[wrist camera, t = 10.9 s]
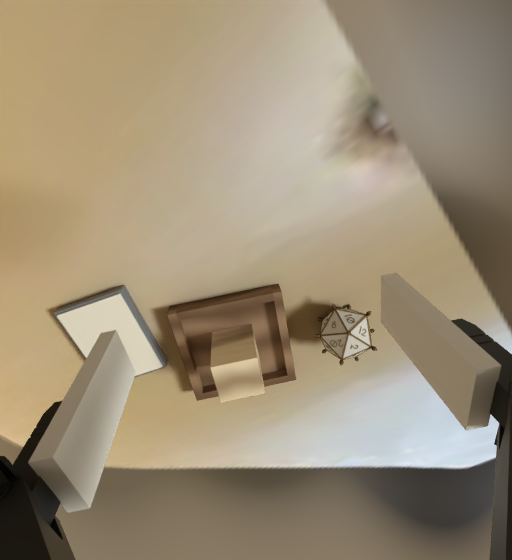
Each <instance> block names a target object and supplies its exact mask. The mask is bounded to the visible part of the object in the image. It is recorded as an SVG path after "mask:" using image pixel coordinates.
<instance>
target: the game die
mask: <svg viewBox="0 0 512 560" xmlns="http://www.w3.org/2000/svg"><path fill="white" fill-rule="evenodd" d="M332 308H333V309H334V310H333V311H332V312H331V313H330V314H329V315H327V316H326V317H325V318H324V319H323V320H322V318H318V320H319V321H320V322H322V324H321V330H320V334H316V335H315V337H316V338H319V337H320V338H321V340H322V342H323V345H324V347H325V349H324V350H322V353H325V352H326V351H328V352H330V353H331V354H333V355H335V356H336V357H338V358H339V359H341V360H340V362H339V363H340V365H342V364H343V360H345V359H349V358H353V357H355V360H356V361H358V357H357V356H358V355H360V354H362V353H363V352H365V351H367V350H368V349H370V348H371V349H372V350H374V351H375V350H377V349H376V347H374V346H372V342H371V333H372V332H374V331H375V330H373V329H370V327H369V322H368V317H367V316H369V315H371V311H369V312H367V313H366V314H363V313H360V312H357V311H354V310H351V309H350V308H351V306H350V305H348V306H347V309H336V306H335V305H334V304H332ZM370 332H371V333H370Z"/></svg>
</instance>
